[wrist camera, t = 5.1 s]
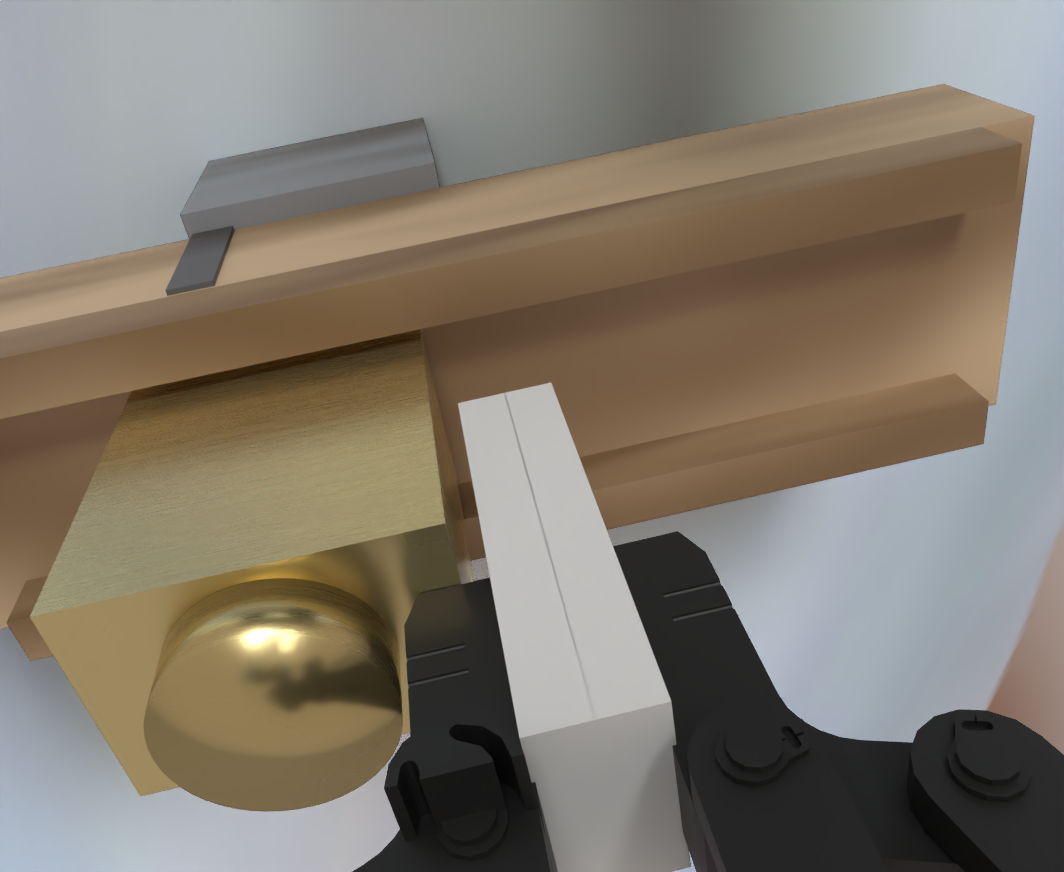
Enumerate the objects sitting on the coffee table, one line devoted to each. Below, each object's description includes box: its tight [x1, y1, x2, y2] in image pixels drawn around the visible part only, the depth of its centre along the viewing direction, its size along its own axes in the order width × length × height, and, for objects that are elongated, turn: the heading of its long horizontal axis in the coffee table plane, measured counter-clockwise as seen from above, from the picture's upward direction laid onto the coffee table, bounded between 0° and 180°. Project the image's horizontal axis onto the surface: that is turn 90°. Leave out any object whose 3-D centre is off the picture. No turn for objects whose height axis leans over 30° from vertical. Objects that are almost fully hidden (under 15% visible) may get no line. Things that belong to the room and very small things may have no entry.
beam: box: [0, 84, 1034, 661], centre depth 19 cm, size 7×26×10 cm, turn 99°
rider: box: [30, 329, 474, 811], centre depth 14 cm, size 3×5×7 cm
